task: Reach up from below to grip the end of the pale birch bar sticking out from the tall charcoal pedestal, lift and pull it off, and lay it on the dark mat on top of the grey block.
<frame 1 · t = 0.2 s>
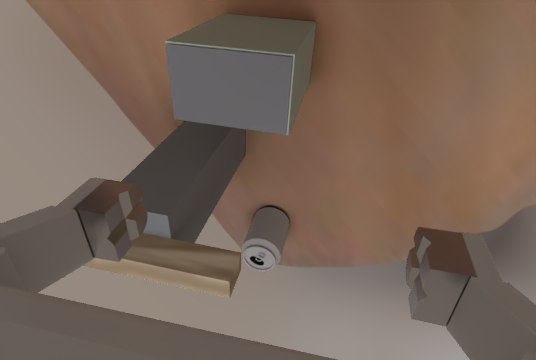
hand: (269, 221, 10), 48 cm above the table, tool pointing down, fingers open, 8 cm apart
pedestal: (224, 129, 64), on the table
grey block: (268, 48, 55), on the table
bar: (155, 243, 40), point 30 cm above the table, touching pedestal
can: (272, 218, 74), on the table
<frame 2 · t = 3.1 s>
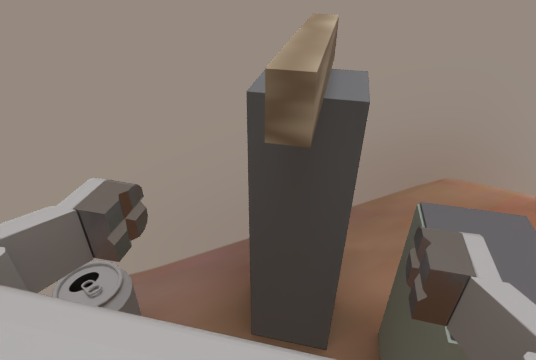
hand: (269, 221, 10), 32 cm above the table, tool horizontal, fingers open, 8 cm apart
pedestal: (293, 313, 45), on the table
bar: (309, 88, 27), point 30 cm above the table, touching pedestal
can: (115, 355, 40), on the table
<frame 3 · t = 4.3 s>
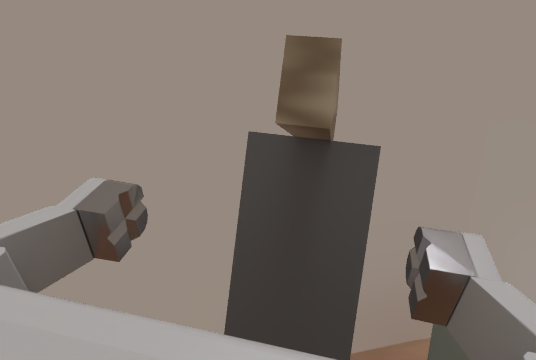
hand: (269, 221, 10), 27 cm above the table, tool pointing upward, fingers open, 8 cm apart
bar: (314, 140, 26), point 30 cm above the table, touching pedestal
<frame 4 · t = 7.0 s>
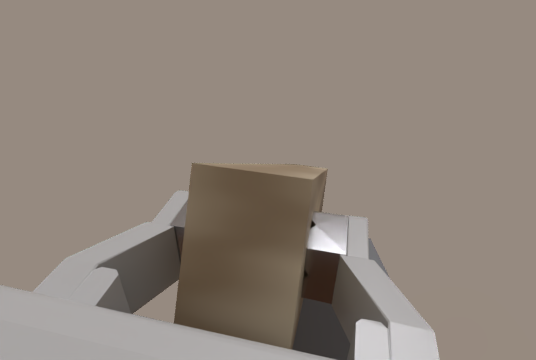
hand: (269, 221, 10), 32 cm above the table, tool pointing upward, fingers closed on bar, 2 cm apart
bar: (287, 248, 17), point 30 cm above the table, touching gripper, pedestal
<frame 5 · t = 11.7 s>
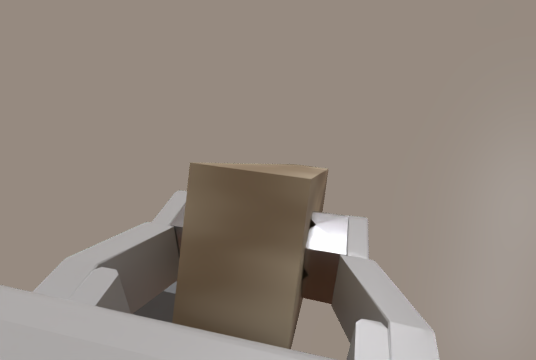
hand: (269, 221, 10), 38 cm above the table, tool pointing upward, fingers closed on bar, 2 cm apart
bar: (287, 248, 17), point 36 cm above the table, touching gripper
when the fingers open (24 cm above the table, at t = 16.2 s): bar drops 2 cm, resting on grey block.
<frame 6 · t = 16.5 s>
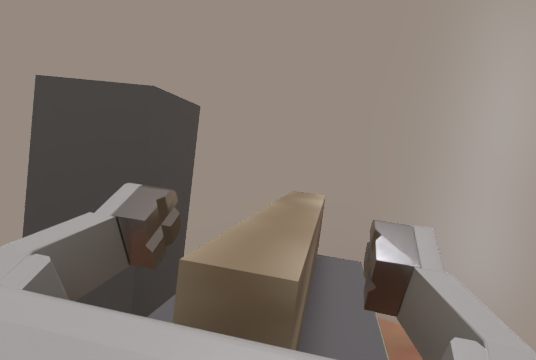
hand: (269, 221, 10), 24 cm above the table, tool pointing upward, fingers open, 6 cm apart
bar: (283, 290, 17), point 20 cm above the table, touching grey block
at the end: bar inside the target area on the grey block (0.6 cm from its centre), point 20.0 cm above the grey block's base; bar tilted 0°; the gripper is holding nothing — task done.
